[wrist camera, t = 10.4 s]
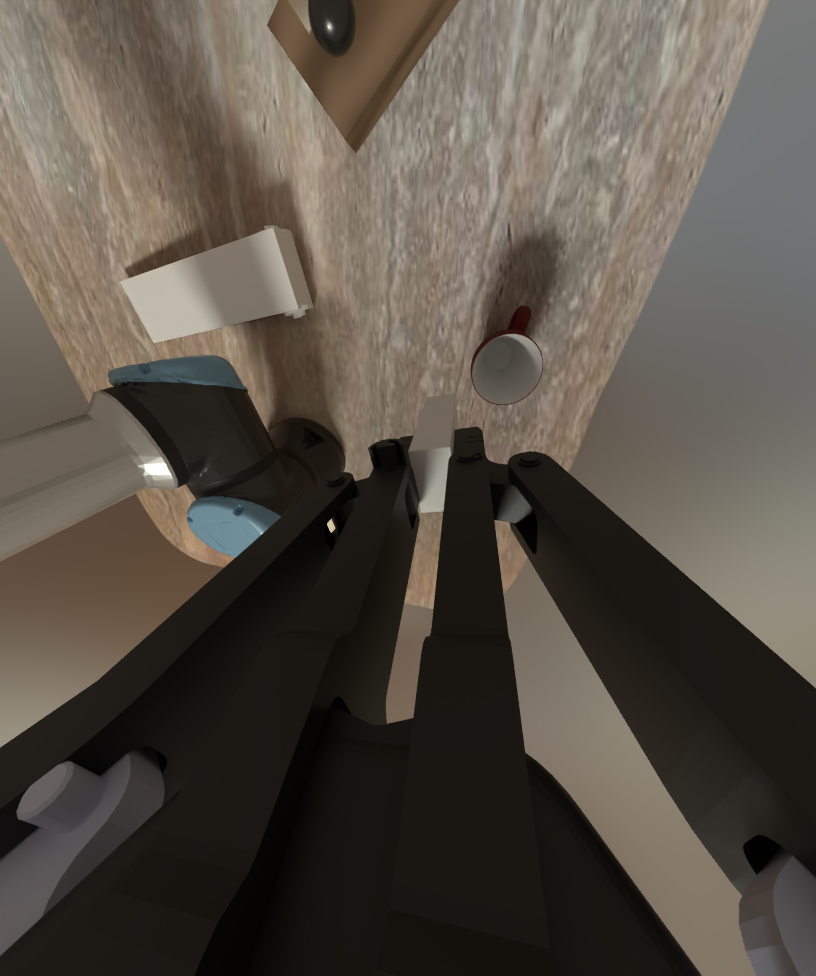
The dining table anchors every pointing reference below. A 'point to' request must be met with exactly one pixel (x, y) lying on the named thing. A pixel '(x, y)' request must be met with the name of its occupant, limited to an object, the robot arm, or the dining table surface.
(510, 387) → the mug
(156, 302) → the wall bracket
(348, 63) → the switch box
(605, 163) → the dining table surface
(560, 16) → the dining table surface
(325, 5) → the black knob lever
